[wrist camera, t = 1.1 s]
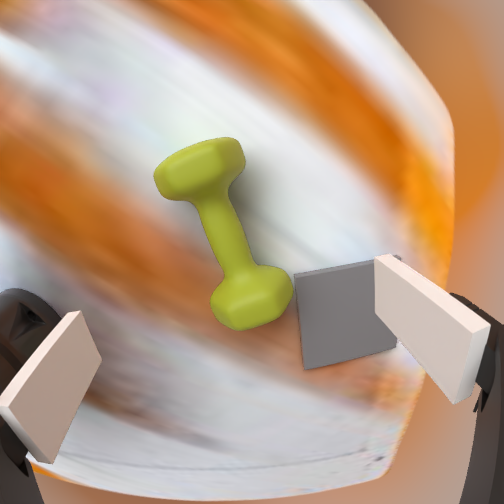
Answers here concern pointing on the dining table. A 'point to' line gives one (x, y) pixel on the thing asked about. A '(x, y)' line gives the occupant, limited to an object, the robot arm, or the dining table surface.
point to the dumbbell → (225, 232)
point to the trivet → (340, 315)
